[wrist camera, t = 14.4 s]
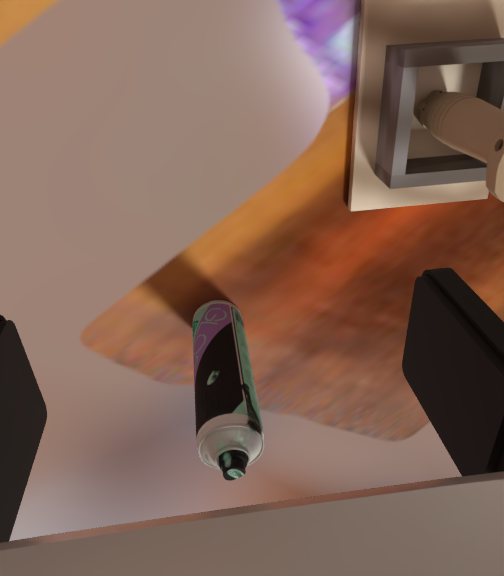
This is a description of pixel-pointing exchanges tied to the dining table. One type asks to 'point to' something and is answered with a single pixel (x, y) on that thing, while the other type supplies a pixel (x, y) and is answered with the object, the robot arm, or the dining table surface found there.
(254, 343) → the dining table surface
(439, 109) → the handle
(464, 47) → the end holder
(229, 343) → the spray can
